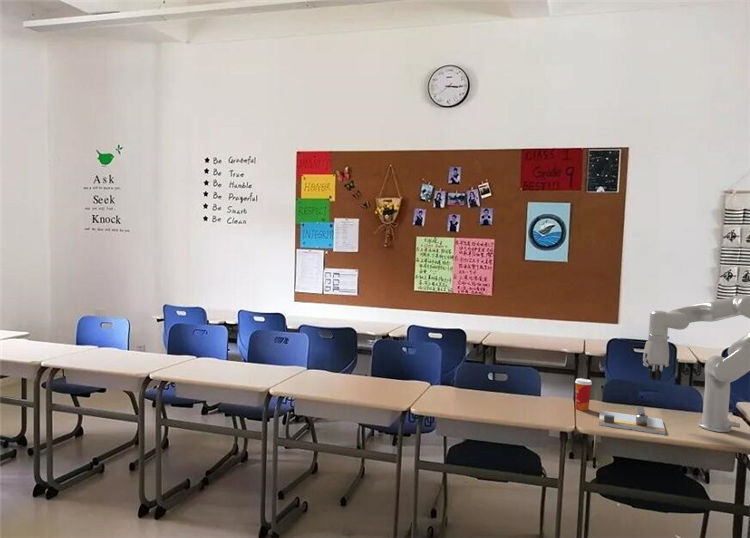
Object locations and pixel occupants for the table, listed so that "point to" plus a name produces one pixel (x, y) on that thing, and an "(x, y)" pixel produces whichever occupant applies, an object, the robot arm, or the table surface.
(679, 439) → the table surface
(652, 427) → the door board
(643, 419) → the latch bar
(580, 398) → the paper cup
